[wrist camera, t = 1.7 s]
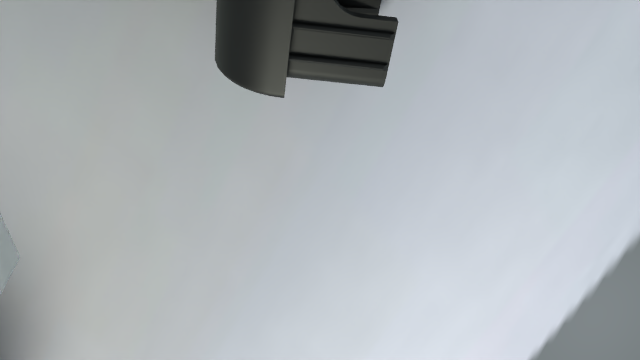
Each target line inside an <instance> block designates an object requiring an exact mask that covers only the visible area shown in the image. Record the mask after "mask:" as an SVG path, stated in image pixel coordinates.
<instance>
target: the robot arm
mask: <svg viewBox="0 0 640 360" xmlns="http://www.w3.org/2000/svg"><path fill="white" fill-rule="evenodd" d="M19 258H20V256H19V254H18V251H17V249H16V247H15V245H14V243H13V240H12V238H11V236H10V234H9V231H8V229H7V227H6V225H5V222H4V220H3V218H2V216H1V213H0V295H1V293H2V291H3V289H4V287H5V285H6V283H7V281H8V279H9V278H10V276H11V274H12V272H13V270H14V268H15V266H16V264H17V262H18V260H19Z"/></svg>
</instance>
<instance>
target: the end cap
mask: <svg viewBox="0 0 640 360" xmlns="http://www.w3.org/2000/svg"><path fill="white" fill-rule="evenodd" d="M380 3H381V0H217V10H216V43H215V61H216V64H217V66H218V68H219V70H220V71H221V72H222V73H223V74H224V75H225V76H226V77H227V78H228V79H230V80H231V81H232V82H234V83H236V84H238V85H239V86H241V87H243V88H246V89H248V90H251V91H254V92H256V93H260V94H264V95H268V96H274V97H281V98H284V94H285V85H286V77H292V78H301V79H311V80H320V81H330V82H339V83H349V84H358V85H368V86H377V87H383V86H384V83H385V79H386V75H387V71H388V66H389V61H390V57H391V52H392V48H393V43H394V39H395V34H396V30H397V25H398V20H397V18H396V17H387V16H379V15H378V14H379V8H380Z"/></svg>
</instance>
